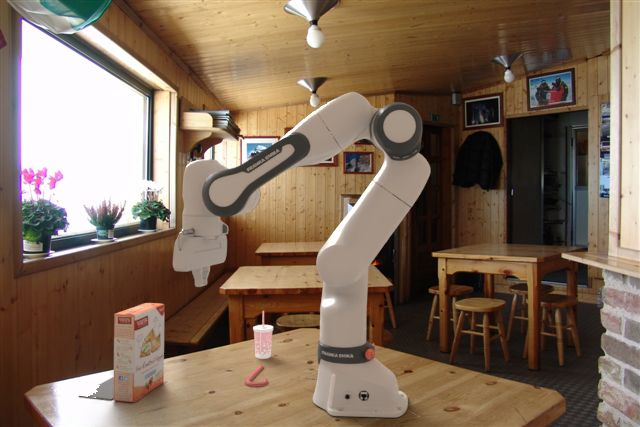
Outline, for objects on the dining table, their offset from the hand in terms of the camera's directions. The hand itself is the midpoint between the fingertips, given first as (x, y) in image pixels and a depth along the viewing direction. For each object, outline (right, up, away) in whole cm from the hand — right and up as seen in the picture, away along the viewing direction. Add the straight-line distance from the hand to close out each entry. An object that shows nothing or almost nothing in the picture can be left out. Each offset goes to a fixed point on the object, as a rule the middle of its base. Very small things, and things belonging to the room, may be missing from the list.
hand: (201, 285), depth 119 cm
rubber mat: (-24, -27, +7) cm, 37 cm away
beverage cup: (+11, -27, +34) cm, 44 cm away
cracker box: (-16, -27, +5) cm, 32 cm away
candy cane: (+12, -28, +16) cm, 34 cm away
